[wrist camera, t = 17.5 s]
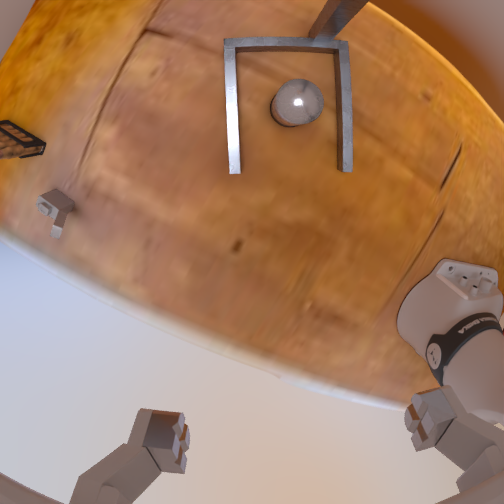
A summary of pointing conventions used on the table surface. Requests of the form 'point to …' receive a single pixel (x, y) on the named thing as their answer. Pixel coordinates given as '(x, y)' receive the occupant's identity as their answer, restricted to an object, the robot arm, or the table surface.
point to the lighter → (55, 209)
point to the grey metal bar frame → (320, 41)
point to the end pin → (297, 103)
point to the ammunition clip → (18, 142)
